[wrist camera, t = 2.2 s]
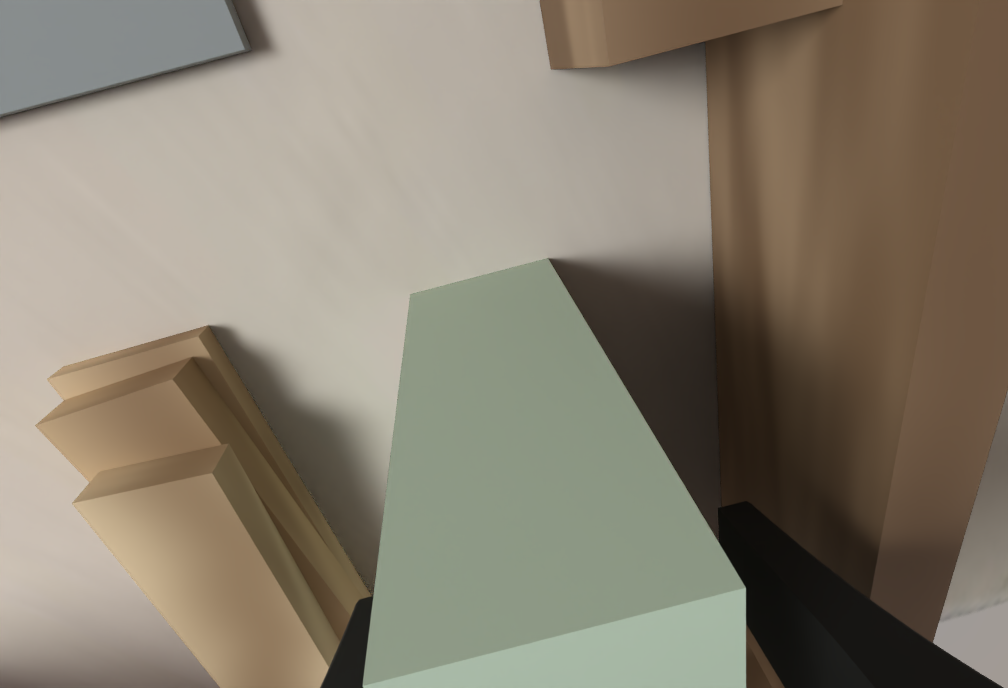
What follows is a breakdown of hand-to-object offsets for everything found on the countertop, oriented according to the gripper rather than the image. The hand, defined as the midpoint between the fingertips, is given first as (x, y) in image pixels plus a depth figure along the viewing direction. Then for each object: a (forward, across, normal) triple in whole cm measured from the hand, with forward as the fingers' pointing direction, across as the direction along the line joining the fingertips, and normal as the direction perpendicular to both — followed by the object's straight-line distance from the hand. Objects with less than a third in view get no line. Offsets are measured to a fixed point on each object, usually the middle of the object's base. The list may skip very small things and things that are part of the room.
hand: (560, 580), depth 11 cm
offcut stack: (+5, +8, 0) cm, 10 cm away
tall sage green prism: (+4, 0, 0) cm, 5 cm away
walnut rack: (+4, -5, 0) cm, 7 cm away
